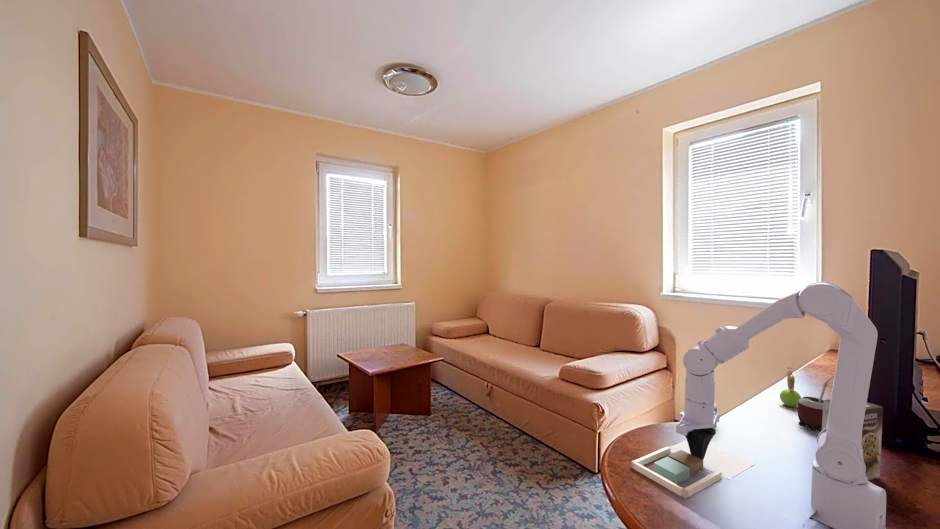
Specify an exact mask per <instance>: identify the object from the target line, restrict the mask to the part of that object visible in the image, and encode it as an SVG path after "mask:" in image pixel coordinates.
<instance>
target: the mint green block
mask: <svg viewBox="0 0 940 529" xmlns="http://www.w3.org/2000/svg"><path fill="white" fill-rule="evenodd" d="M652 471H653V472H655V473H657V474H659V475H661V476H662V477H664V478H666V479H668V480H670V481H671V482H673V483H675V484H677V485H679V484H681V483H682V482H685V481H687V480H688V479H690V477H691V476H690V468H689V467H687V466H685V465H683V464H681V463H679V462H677V461H675V460H673V459H671V458H669V457H668V456H664V457H662V458H660V459H657V460H655V461H653V470H652Z"/></svg>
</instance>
